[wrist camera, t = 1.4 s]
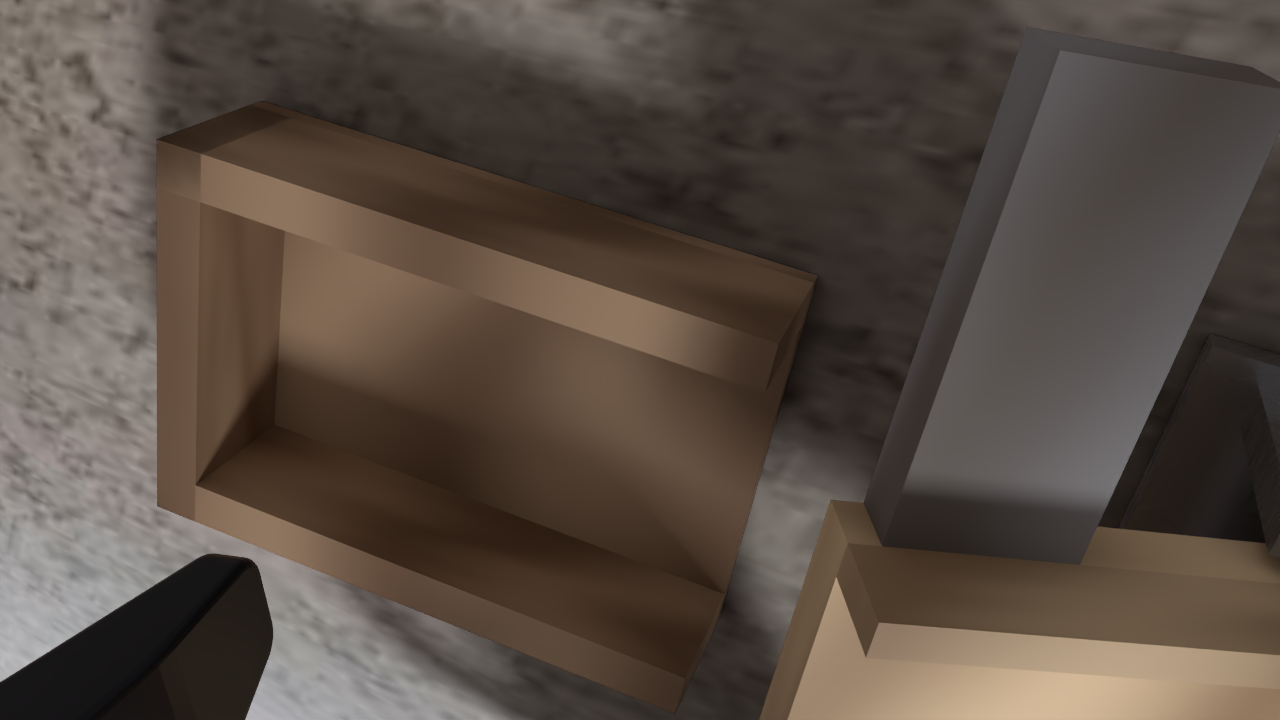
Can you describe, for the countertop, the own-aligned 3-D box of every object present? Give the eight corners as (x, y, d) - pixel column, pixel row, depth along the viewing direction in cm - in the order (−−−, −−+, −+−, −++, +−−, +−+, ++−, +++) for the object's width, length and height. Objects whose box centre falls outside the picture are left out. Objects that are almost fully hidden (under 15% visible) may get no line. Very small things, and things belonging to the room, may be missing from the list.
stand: (1472, 413, 21) (1564, 566, 17) (1204, 849, 26) (1225, 1047, 22) (1209, 333, 22) (1235, 460, 18) (1003, 771, 27) (985, 947, 23)
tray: (818, 275, 24) (778, 343, 21) (719, 618, 28) (675, 714, 25) (261, 100, 26) (156, 139, 23) (247, 438, 30) (157, 506, 27)
